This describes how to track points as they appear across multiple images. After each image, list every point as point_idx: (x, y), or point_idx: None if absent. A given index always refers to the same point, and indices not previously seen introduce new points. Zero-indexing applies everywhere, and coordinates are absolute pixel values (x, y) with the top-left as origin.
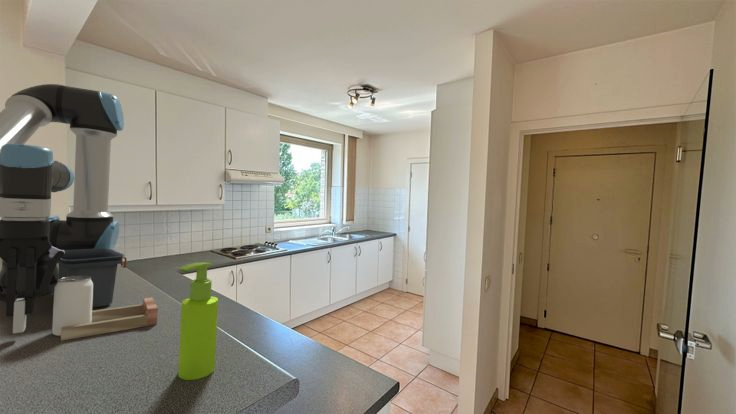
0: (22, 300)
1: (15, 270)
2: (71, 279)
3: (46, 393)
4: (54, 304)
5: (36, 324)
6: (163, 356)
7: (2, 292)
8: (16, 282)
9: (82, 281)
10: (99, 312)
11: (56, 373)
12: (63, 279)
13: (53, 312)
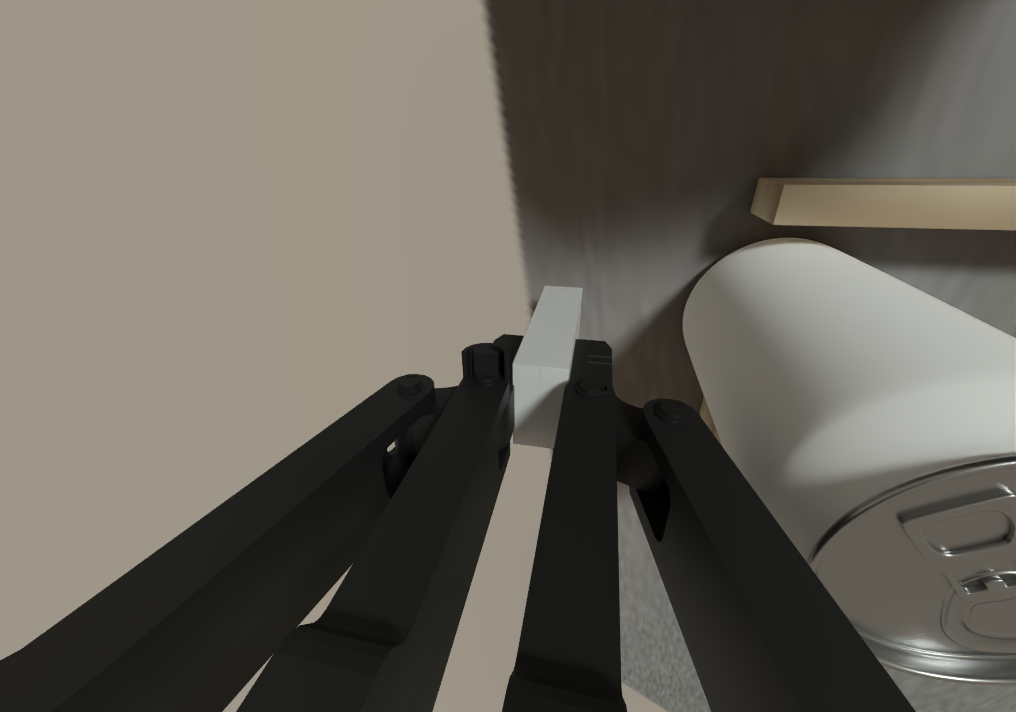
0: (550, 429)
1: (428, 707)
2: (975, 529)
3: (637, 659)
4: (717, 429)
5: (625, 59)
6: (908, 688)
7: (420, 424)
8: (477, 525)
9: (1010, 665)
10: (993, 226)
11: (660, 608)
12: (897, 482)
13: (703, 386)
